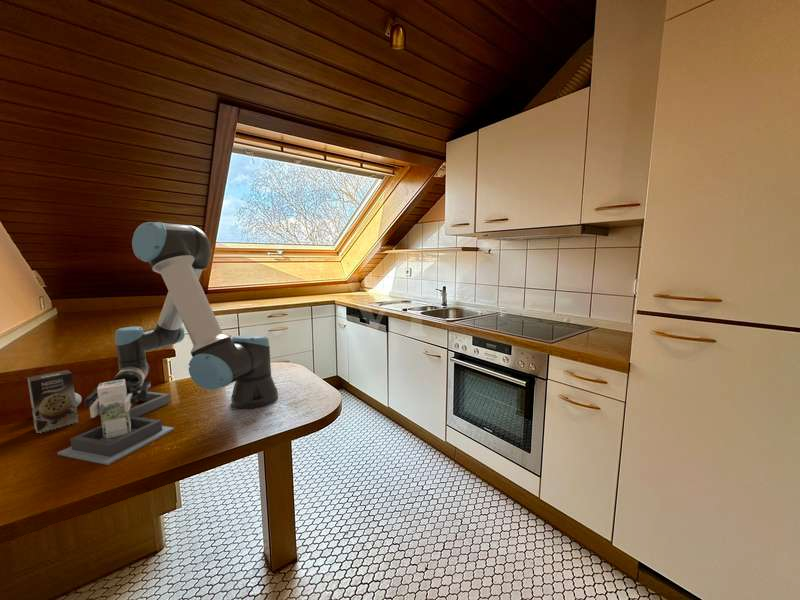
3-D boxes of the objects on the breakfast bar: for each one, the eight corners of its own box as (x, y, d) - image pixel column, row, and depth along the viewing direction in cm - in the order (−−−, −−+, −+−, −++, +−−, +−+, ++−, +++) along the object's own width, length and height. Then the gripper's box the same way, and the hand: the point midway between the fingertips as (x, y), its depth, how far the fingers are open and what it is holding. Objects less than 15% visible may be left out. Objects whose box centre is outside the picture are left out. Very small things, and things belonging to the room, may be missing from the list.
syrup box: (131, 426, 100) (125, 377, 98) (130, 434, 95) (124, 383, 93) (105, 432, 96) (98, 382, 94) (103, 441, 92) (96, 388, 90)
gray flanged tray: (174, 429, 102) (172, 417, 101) (107, 465, 85) (105, 451, 84) (129, 422, 107) (127, 411, 106) (57, 454, 90) (55, 441, 89)
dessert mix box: (37, 434, 100) (29, 381, 98) (34, 428, 104) (25, 377, 102) (79, 422, 108) (72, 372, 106) (75, 417, 111) (67, 368, 109)
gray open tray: (170, 402, 121) (169, 394, 121) (129, 420, 108) (128, 411, 108) (141, 398, 125) (140, 390, 125) (98, 415, 112) (96, 406, 112)
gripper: (165, 387, 115) (155, 414, 95) (90, 399, 106) (62, 432, 86) (163, 365, 114) (152, 388, 94) (86, 375, 105) (57, 403, 85)
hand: (109, 409), depth 90 cm, fingers closed on syrup box, 6 cm apart
